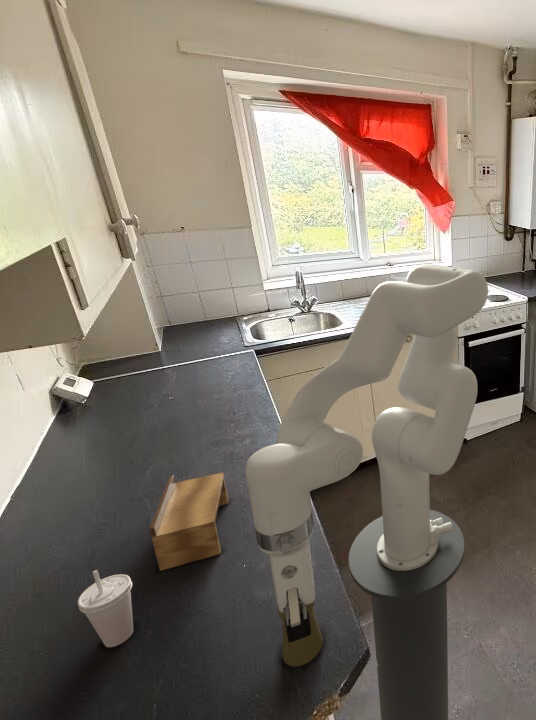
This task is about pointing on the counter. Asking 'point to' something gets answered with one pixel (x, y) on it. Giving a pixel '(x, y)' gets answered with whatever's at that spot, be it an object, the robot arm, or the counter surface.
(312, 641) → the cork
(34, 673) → the counter surface
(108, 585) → the smoothie
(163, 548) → the spice shelf
